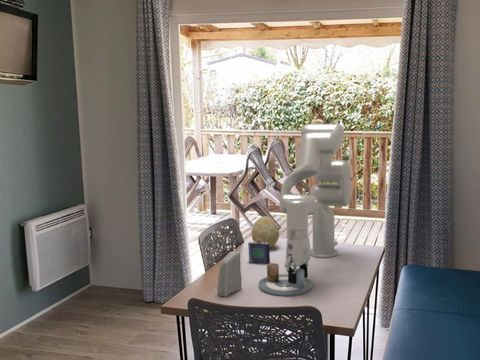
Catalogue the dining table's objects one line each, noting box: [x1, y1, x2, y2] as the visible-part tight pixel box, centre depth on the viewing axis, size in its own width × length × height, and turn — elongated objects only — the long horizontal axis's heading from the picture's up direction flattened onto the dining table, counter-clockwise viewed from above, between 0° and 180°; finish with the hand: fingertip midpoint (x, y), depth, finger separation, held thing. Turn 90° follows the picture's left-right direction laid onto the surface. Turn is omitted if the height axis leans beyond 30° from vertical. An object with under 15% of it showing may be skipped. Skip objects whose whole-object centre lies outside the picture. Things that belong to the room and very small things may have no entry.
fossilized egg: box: [251, 215, 280, 249], centre depth 244 cm, size 13×13×15 cm
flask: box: [247, 238, 271, 265], centre depth 223 cm, size 9×3×11 cm, turn 71°
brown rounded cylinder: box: [266, 262, 280, 282], centre depth 199 cm, size 4×4×6 cm
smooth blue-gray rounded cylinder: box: [292, 267, 304, 288], centre depth 192 cm, size 4×4×6 cm
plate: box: [258, 273, 314, 297], centre depth 196 cm, size 20×20×1 cm
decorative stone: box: [216, 250, 242, 297], centre depth 191 cm, size 11×6×15 cm, turn 148°
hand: (298, 279), depth 192 cm, fingers open, 7 cm apart
